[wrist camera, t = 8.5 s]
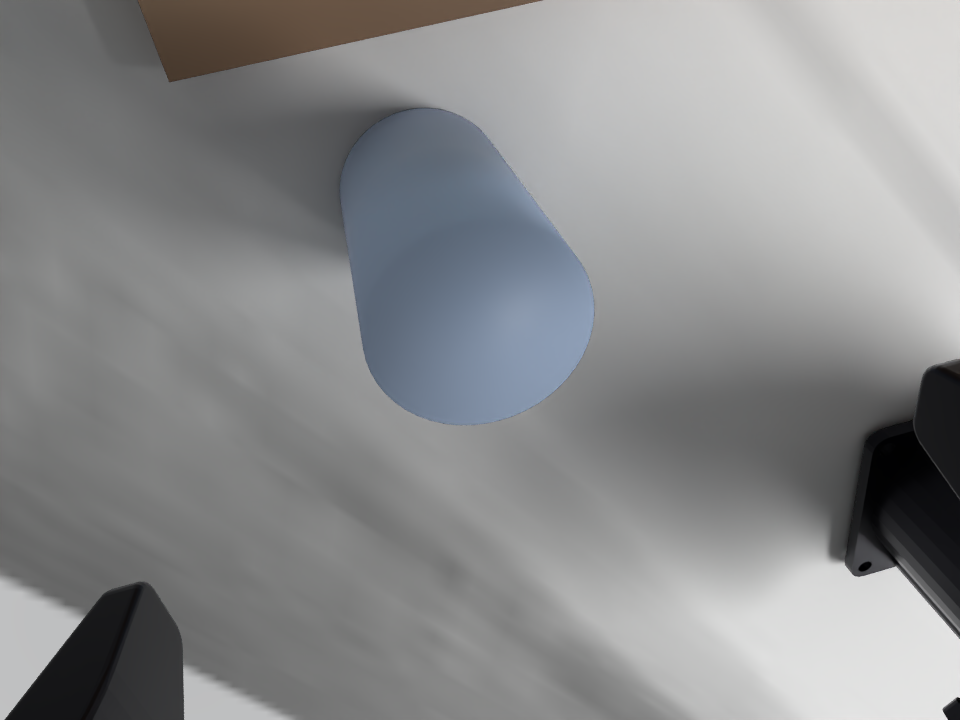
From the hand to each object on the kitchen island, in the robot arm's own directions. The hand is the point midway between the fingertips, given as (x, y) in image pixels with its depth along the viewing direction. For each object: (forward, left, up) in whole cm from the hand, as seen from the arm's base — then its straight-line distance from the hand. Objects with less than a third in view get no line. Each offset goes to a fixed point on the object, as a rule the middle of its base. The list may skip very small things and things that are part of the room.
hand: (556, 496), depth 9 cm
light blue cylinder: (0, 0, -10) cm, 10 cm away
